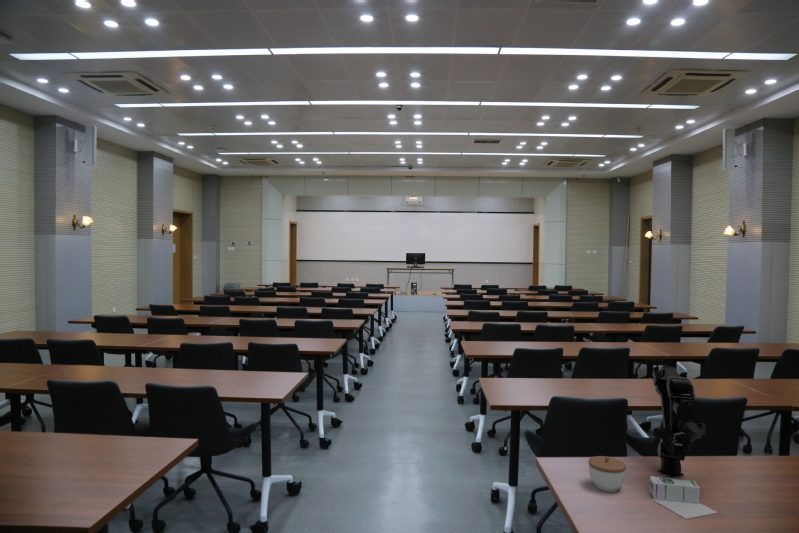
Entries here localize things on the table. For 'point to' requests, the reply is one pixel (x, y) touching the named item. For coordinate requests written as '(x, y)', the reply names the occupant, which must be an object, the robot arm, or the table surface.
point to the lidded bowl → (607, 473)
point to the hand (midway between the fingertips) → (678, 455)
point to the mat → (685, 508)
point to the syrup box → (674, 489)
